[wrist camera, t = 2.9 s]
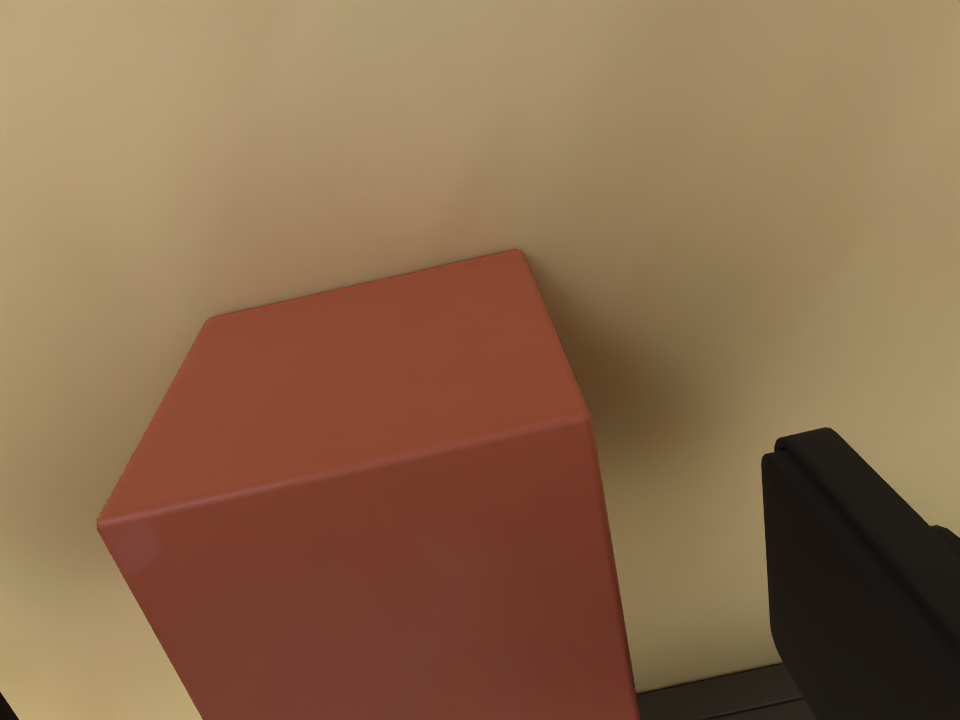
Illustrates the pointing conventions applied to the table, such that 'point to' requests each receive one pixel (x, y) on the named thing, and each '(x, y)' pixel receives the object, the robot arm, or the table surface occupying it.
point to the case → (730, 698)
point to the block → (379, 511)
